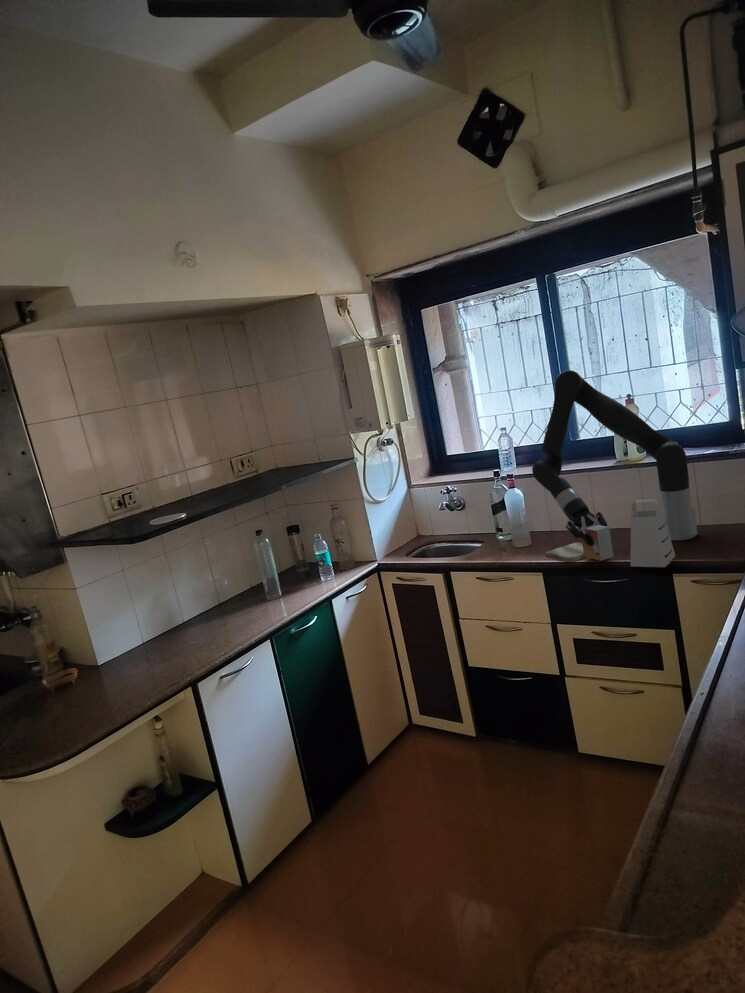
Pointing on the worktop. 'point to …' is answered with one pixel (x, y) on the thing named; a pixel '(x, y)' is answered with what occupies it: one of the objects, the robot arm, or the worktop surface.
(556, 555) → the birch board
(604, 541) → the small box
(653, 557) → the grater
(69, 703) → the worktop surface
